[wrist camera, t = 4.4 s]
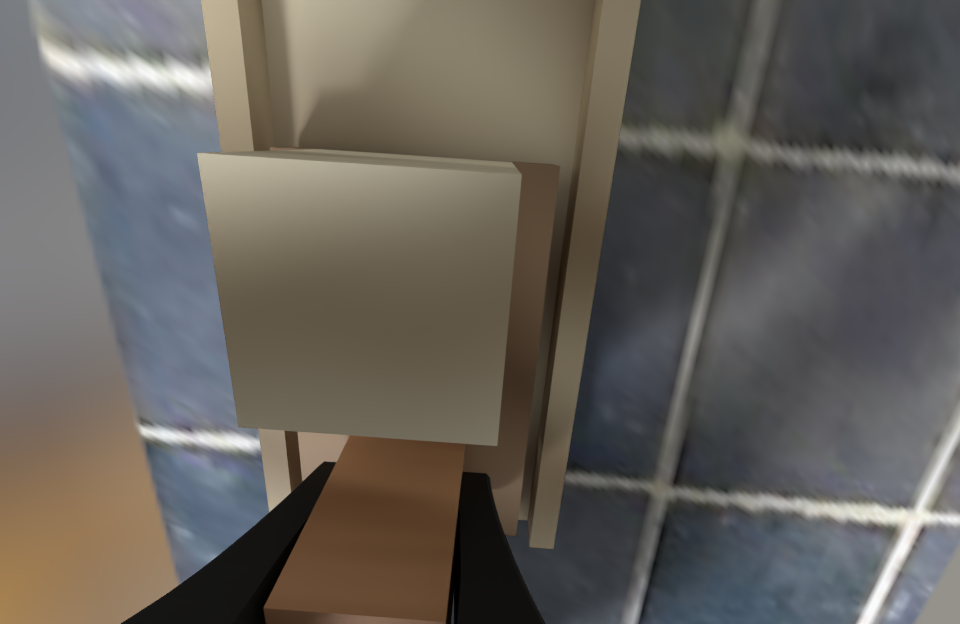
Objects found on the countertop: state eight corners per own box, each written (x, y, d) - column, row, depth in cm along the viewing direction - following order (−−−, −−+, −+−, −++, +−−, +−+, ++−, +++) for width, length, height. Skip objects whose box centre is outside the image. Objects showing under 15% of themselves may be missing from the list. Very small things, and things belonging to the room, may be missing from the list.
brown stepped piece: (514, 509, 14) (527, 763, 8) (319, 494, 14) (196, 736, 8) (554, 164, 10) (625, 190, 5) (290, 147, 10) (40, 152, 5)
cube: (496, 339, 11) (496, 445, 7) (328, 327, 11) (238, 426, 7) (511, 161, 9) (521, 175, 5) (317, 149, 9) (197, 153, 6)
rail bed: (548, 502, 15) (554, 549, 13) (295, 484, 15) (269, 527, 13) (648, -176, 9) (683, -251, 7) (224, -201, 9) (160, -281, 7)
